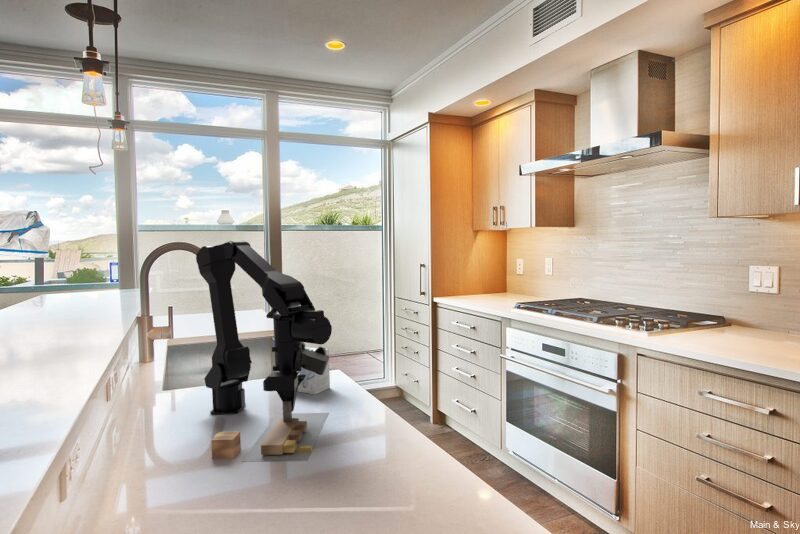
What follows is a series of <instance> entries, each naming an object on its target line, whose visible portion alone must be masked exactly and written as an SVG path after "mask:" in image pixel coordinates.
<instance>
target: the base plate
mask: <svg viewBox="0 0 800 534" xmlns="http://www.w3.org/2000/svg"><path fill="white" fill-rule="evenodd" d="M329 415H330V412H298V413H297V412H292V418H299V421H307V429H306V430H305V432H302V438H301V440H300V442H296V444H297V447H296V449H295V451H294V453H283V454H281V455H261V444H262V443H263V442H264V440H265V439H266V437H267V436H268V435H269V433H270V432H271V430H272V429H273V428H274V426H275V425H276V423H277V422H278V420H279V419H280V418H283V413H276V415H275V416H274V417H273V419H272V420H271V421H270V423H269V424H268V426H267V427H266V428H265V430H263V432H262V433H261V435H260V436H259V438H258V439H257V440H256V441H255V443H254V444H253V446H252V447H251V448H250V449H249V451H248V452H247V454H246V455H245V456H244V458H243V459H242V460H241V462H242V463H243V462H244V463H247V462H248V463H249V462H250V463H252V462H307V461H308V460H309V459H310V456H311V454H312V452H313V449H314V447H315V445H316V443H317V441H318V438H319V435H320V434H321V431H322V429H323V428H324V424H325V422H326V420H327V418H328V417H329ZM299 446H312V451H311V452H298V448H299Z"/></svg>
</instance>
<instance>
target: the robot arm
mask: <svg viewBox="0 0 800 534" xmlns="http://www.w3.org/2000/svg"><path fill="white" fill-rule="evenodd" d="M195 261H196V264H197V267H198V271H199V275H200V276H201V277H202V278H203V279H204V280H205V282H206V283H207V284H208V289H209V296H210V302H211V303H210V304H211V312H212V316H213V317H212V318H213V324H214V332H215V339H216V346H215V349H214V350H213V353H212V356H211V368H210V369H209V371H208V372H207V374H206V376H205V377H204V383H205V386H206V388H208V389H211V390H212V391H211V393H212V395H211V396H212V409H211V410H210V412H209V413H210V414H211V415H216V414H217V415H218V414H219V415H221V414H238V413H239V412H240V411H241V410H242V409H243V408H244V407H245V406H246V395H245V394H246V393H245V392H246V391H245V388H243V383H246V382H248V380H249V376H250V371H251V368H252V367H251V366H252V365H251V364H252V363H253V362H252V359H251V356H250V355H251V354H250V348H249V346H245V345H243V343H242V342H241V341H240V339H239V332H238V331H239V330H238V326H237V319H236V312H235V311H236V310H235V303H234V297H233V291H232V290H233V289H232V283H231V281H232V279H233V276H234V273H235V271H236V265H237V266H238V267H239V268H240V269H242V270H243V271H244V273H246V274H247V275H248V276H249V277H250V278H251V279H252V280H253V281H254V282H255V283H256V284H257V285H259V287H260V288H261V294H262V297H263V299H264V300H265V301H266V303H267V304H268V305H269V307H270V308H271V309H270V311H269V312H268V313H267V314H266V318H267V319H273V339H274V341H273V346H272V347H271V353H274V365H272V372H271V373H270V374H269V375H268V376H267V377H266V378H265V379H264V380H263V381H262V386H263V387H262V388H263V391H264V392H276V393H277V394H278V396H279V398H280V400H281V401H282V402H281V403H283V402H284V401H291V406H292V413H294V412H293V411H294V410H295V405H296V401H297V396H298V386H299V385H300V384H301V382H302V381H303V380H304V378H305V377H306V375H300V372H298V371H301V370H302V368H304V369H306V370H309V371H312V372H315V373H316V374H318V375H323V373H324V372H325V370H326V367H327V364H328V361H329V362H330V354H329V355H326V349H327V348H325V347H322V346H318V347H316V348H317V349H316V350H315V351H313V350H307V349H305V347H306V343H307V344H308V343H309V344H315V345H324V344H326V343H327V342H328V341H329V340H330V338H331V335H332V328H333V327H332V325H331V322H330V320H329V318H328V317H326V316H325V311H324V310H322V309H321V310H320V309H319V310H316V308H315V306H314V304H313V302H312V301H311V299H310V297H309V296H308V294H307V292H306V290H305V287H304V285H303V283H302V282H301V281H299V280H298V279H296V278H294V277H293V276H290V275H287V274H284V273H282V272H280V271H278V270H277V269H276V268H275V267H274V266H273V265H272V264H270V262H268V261H267V260H265V258H263V257H262V256H261V255H260V254H259V253H258V252H257V250H254V248H252V247H251V243H250V242H248V241H246V240H229V241H227V242H224V243H222V244H217V245H205V246H201V247H200V249H199V250H198V252H197V253H196V255H195Z"/></svg>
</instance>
